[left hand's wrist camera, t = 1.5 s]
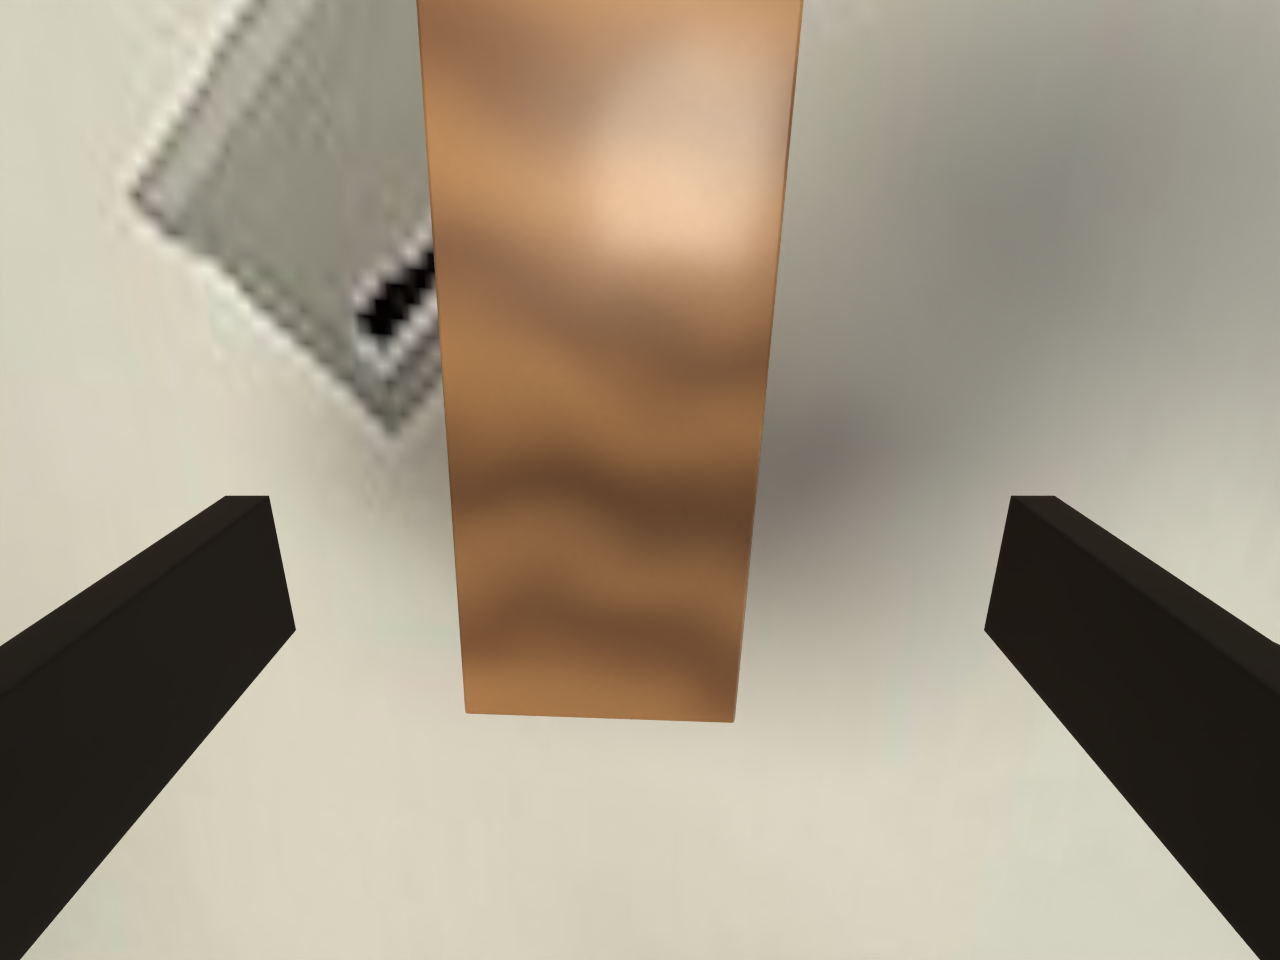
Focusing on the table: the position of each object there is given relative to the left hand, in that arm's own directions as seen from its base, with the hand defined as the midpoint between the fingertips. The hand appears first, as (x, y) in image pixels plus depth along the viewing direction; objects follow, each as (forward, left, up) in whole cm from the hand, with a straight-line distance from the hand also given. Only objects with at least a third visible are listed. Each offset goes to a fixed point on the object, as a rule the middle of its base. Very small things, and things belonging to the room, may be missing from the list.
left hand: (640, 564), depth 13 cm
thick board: (+21, -22, -15) cm, 34 cm away
